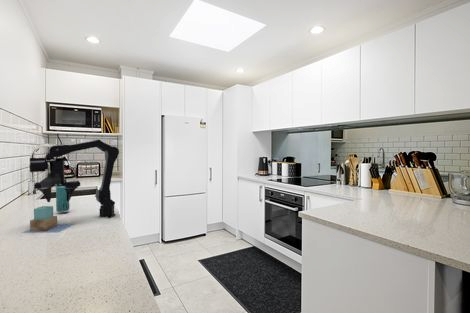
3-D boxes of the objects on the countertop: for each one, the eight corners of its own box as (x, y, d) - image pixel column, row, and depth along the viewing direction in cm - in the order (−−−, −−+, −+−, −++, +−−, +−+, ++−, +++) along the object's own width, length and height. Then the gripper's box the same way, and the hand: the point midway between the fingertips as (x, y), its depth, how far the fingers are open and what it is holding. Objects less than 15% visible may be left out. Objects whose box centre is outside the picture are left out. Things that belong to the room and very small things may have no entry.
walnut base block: (57, 226, 113) (57, 216, 113) (46, 231, 106) (45, 220, 106) (42, 226, 113) (42, 216, 113) (30, 231, 106) (29, 220, 106)
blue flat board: (75, 225, 117) (75, 223, 117) (58, 233, 105) (58, 232, 105) (42, 225, 116) (42, 224, 116) (21, 234, 104) (21, 232, 104)
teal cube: (53, 216, 112) (53, 206, 112) (45, 219, 107) (45, 208, 107) (42, 216, 112) (42, 206, 112) (34, 219, 107) (33, 208, 107)
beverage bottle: (62, 214, 135) (61, 180, 134) (53, 214, 136) (52, 179, 136) (72, 211, 141) (71, 178, 141) (63, 211, 143) (62, 178, 142)
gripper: (23, 172, 107) (25, 206, 108) (65, 172, 108) (67, 205, 109) (42, 170, 119) (43, 200, 119) (80, 169, 120) (81, 200, 120)
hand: (58, 201), depth 117 cm, fingers open, 9 cm apart
